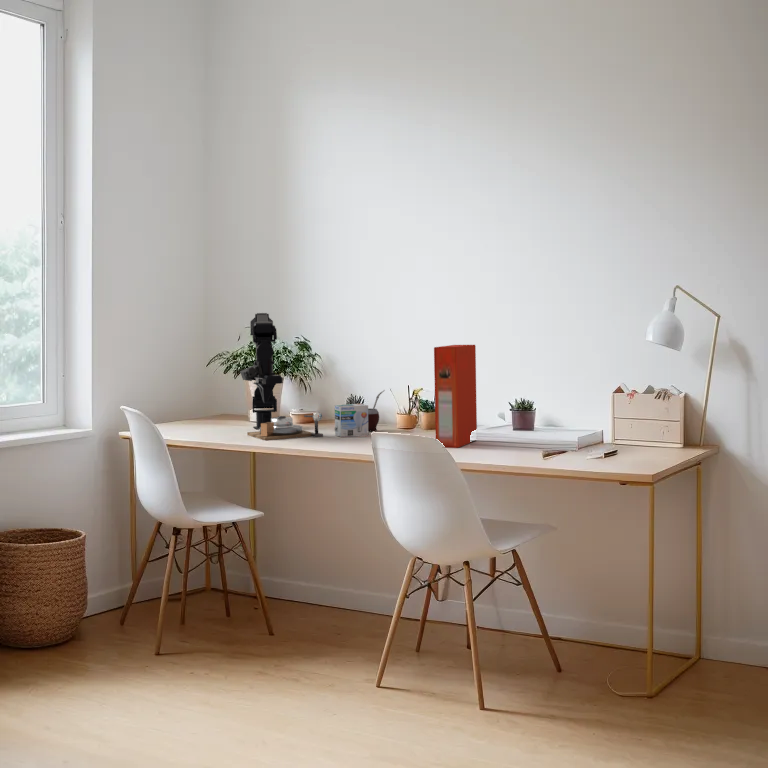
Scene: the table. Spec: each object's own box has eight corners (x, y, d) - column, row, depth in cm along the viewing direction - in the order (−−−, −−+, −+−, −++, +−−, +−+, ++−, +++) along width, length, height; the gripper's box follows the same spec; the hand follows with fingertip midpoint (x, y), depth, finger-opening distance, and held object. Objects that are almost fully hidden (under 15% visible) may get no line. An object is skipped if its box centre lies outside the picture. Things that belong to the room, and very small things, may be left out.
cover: (265, 428, 348) (265, 417, 348) (277, 425, 356) (277, 414, 355) (286, 429, 345) (286, 418, 344) (298, 426, 352) (298, 415, 352)
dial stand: (304, 436, 348) (303, 411, 348) (316, 434, 351) (316, 410, 350) (310, 437, 344) (309, 412, 343) (323, 436, 346) (322, 412, 346)
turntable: (245, 435, 344) (245, 422, 343) (274, 428, 360) (274, 417, 360) (282, 437, 337) (282, 424, 337) (310, 430, 354) (310, 418, 353)
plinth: (247, 435, 353) (247, 432, 353) (296, 431, 362) (296, 428, 362) (264, 440, 339) (264, 437, 339) (315, 436, 348) (315, 433, 348)
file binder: (434, 447, 318) (433, 346, 315) (454, 439, 333) (453, 344, 331) (458, 448, 314) (457, 347, 312) (477, 441, 330) (476, 344, 327)
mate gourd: (356, 431, 360) (355, 389, 359) (373, 429, 365) (373, 388, 364) (368, 433, 354) (367, 391, 353) (385, 431, 359) (385, 389, 358)
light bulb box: (340, 437, 344) (340, 406, 343) (334, 435, 350) (333, 404, 349) (369, 435, 348) (369, 404, 347) (362, 433, 354) (362, 403, 353)
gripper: (233, 357, 352) (234, 401, 353) (252, 360, 335) (253, 406, 337) (262, 356, 357) (263, 399, 358) (282, 359, 341) (283, 404, 342)
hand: (265, 402), depth 349 cm, fingers closed
